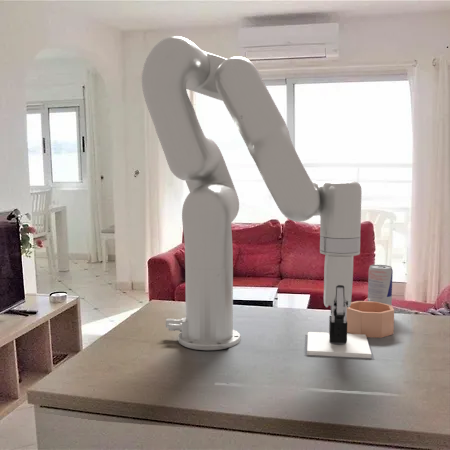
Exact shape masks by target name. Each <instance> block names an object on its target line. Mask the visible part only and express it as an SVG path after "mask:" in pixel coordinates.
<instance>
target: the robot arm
mask: <svg viewBox="0 0 450 450" xmlns="http://www.w3.org/2000/svg"><path fill="white" fill-rule="evenodd" d="M141 87H142V93H143V98H144V101H145V104H146V108H147V109H148V110H147V111H148V113H149V116H150V118H151V120H152V123H153V126H154V129H155V132H156V135H157V138H158V140H159V142H160V146H161V149H162V151H163V154H164V156H165V157H164V158H165V159H166V162H167V165H168V167H169V170H170V171H171V173H172V174H173V175H174V176H175V177H176V178H177V179H180V180H182V181H185V183H186V187H188V192H189V193H188V194H187V196H186V197H185V199H184V202H183V205H182V209H181V222H182V230H183V237H184V238H183V240H184V241H183V242H184V268H185V270H184V271H185V272H184V273H185V278H184V279H185V283H184V284H185V317H181V319H176V318H166V319H165V328H166V329H168V331H174V332H175V331H178V332H179V334H178V338H177V339H178V340H177V341H178V343H179V344H180V345H182V346H183V347H185V348H188V349H191V350H197V351H218V350H219V351H220V350H226V349H230V348H231V347H234V346H236V345H238V344H239V343H240V342H241V333H239V331H237V330H235V329H234V312H233V311H234V293H233V292H234V264H233V263H234V260H233V259H234V257H233V256H234V254H233V252H234V249H233V234H232V223H233V221H235V220H236V217H237V216H238V213H239V211H240V200H239V196H238V192H237V190H236V187H235V185H234V182H233V179H232V177H231V174H230V172H229V169H228V166H227V163H226V161H225V159H224V156H223V154H222V152H221V150H220V147H219V146H218V144H217V142H215V141H214V140H213V139H212V138H210V137H208V136H206V135H205V133H204V132H203V129H202V126H201V124H200V122H199V120H198V117H197V114H196V109H195V108H194V105H193V104H192V101H191V98H190V97H189V95H188V91H191V92H195V93H197V94H201V95H204V96H206V97H210V98H212V99H216V100H219V101H221V102H223V104H224V105H225V107H226V110H227V112H228V113H229V115H230V117H231V118H232V120H233V122H234V124H235V127H236V128H237V130H238V133H239V134H240V136H241V138H242V140H243V142H244V144H245V146H246V147H247V150H248V152H249V154H250V156H251V157H252V159H253V162H254V163H255V166H256V167H257V170H258V171H259V174H260V176H261V177H262V180H263V181H264V184H265V186H266V187H267V189H268V192H269V193H270V195H271V197H272V199H273V201H274V203H275V204H276V206H277V208H278V210H279V211H280V212H281V214H282V215H283V216H284V217H285V218H287V219H288V220H290V221H292V222H305V221H308V220H310V219H311V218H312V217H314V216H316V217H317V216H320V221H319V222H320V225H319V228H320V229H319V233H320V234H319V238H320V239H319V253H320V254H322V255H325V256H324V264H323V265H324V266H323V267H324V269H323V272H324V273H323V278H324V279H323V304H324V306H325V308H328V307H329V306H330V316H332V321H330V316H329V317H328V318H329V319H328V320H329V321H328V323H329V324H328V326H329V327H328V331H329V332H328V333H329V335H330V342H332V343H346V342H347V334H348V332H347V322H346V316H347V308H349V307H350V306H351V302H352V295H353V285H354V284H353V283H354V282H353V281H354V280H353V279H354V257H356V256H359V255H360V254H361V228H362V227H361V225H362V222H361V221H362V186H361V185H360V183H359V182H358V181H353V180H329V181H328V180H327V181H320V180H319V181H317V180H312V179H311V178H310V176H309V174H308V172H307V169H306V168H305V167H304V165H303V162H302V161H301V159H300V157H299V155H298V153H297V151H296V149H295V146H294V144H293V142H292V139H291V138H292V137H291V135H290V131H289V127H288V125H287V124H286V121H285V119H284V117H283V116H282V114H281V112H280V110H279V108H278V107H277V105H276V103H275V101H274V99H273V98H272V96H271V93H270V92H269V90H268V87H267V86H266V85H265V82H264V80H263V77H262V74H261V73H260V71H259V70H258V68H257V67H256V66H255V64H254V62H252V61H251V60H249V59H248V58H246V57H243V56H236V55H235V56H231V57H229V58H225V57H222V56H219V55H216V54H214V53H211V52H207V51H204V50H202V49H201V48H200V47H199V46H198V45H196V44H195V43H194V42H193V41H191V40H189V38H186V37H183V36H179V35H172V36H167V37H165V38H163V39H162V40H160V41H159V42H157V43H156V44H155V45H154V46H153V47H152V48H151V50H150V52H149V53H148V54H147V57H146V58H145V62H144V65H143V68H142V73H141Z"/></svg>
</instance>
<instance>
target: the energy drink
mask: <svg viewBox="0 0 450 450" xmlns="http://www.w3.org/2000/svg"><path fill="white" fill-rule="evenodd" d="M393 273H394V272H393V267H392V266H391V265H387V264H371V265H369V268H368V276H367V277H368V281H367V283H368V285H367V301H374V302H380V303H384V304H388V305H392V304H393V302H392V300H393V275H394V274H393ZM392 306H393V305H392Z"/></svg>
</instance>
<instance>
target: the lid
mask: <svg viewBox="0 0 450 450" xmlns="http://www.w3.org/2000/svg"><path fill="white" fill-rule="evenodd" d="M329 317H330V321H332V315H329ZM346 322H347V317H346ZM307 335H308V345H307V355H320V356H339V357H358V358H371V351H370V348H369V344H368V341H367V338H368V337H366V335H365V334H351V333H347V342H346V343H332V342H330V335H329V332H323V331H322V332H321V331H308V332H307Z"/></svg>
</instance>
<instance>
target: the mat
mask: <svg viewBox="0 0 450 450" xmlns="http://www.w3.org/2000/svg"><path fill="white" fill-rule="evenodd" d="M304 338H305V340H304V357H320V358H321V357H322V358H338V359H339V358H341V359H359V360H373V361H374V360H375V357H374V354H373V351H372V347H371V344H370V340H369V337H366V338H367V341H368V344H369V348H370V351H371V358H358V357H339V356H320V355H307V345H308V334H305V337H304Z"/></svg>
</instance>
